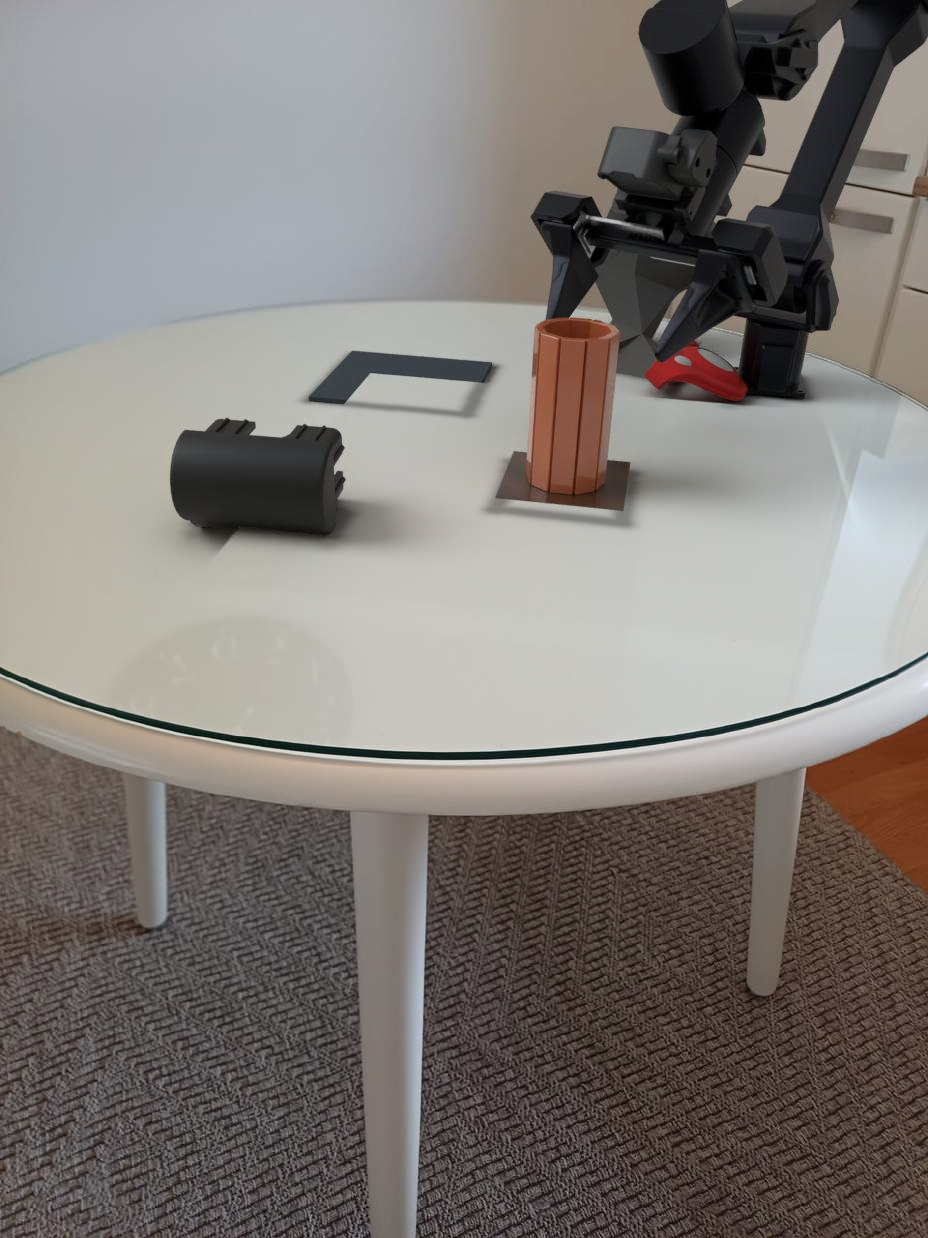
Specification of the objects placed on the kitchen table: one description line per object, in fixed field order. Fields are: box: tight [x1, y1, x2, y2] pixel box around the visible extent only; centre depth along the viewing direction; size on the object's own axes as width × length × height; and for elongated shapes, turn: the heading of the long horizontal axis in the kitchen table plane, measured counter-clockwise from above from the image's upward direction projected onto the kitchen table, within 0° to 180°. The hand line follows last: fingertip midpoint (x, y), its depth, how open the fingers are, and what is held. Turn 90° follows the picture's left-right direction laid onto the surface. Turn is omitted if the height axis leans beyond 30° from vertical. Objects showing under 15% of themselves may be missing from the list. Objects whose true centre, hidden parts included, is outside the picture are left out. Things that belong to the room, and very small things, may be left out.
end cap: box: [169, 417, 347, 535], centre depth 71 cm, size 10×7×7 cm
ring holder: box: [494, 450, 631, 512], centre depth 78 cm, size 9×9×6 cm
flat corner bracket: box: [308, 350, 493, 405], centre depth 100 cm, size 14×14×1 cm
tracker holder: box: [644, 337, 748, 402], centre depth 100 cm, size 12×4×10 cm
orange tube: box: [526, 316, 620, 495], centre depth 76 cm, size 6×6×11 cm
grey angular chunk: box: [594, 187, 717, 385], centre depth 106 cm, size 14×15×18 cm
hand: (601, 345), depth 77 cm, fingers open, 9 cm apart
